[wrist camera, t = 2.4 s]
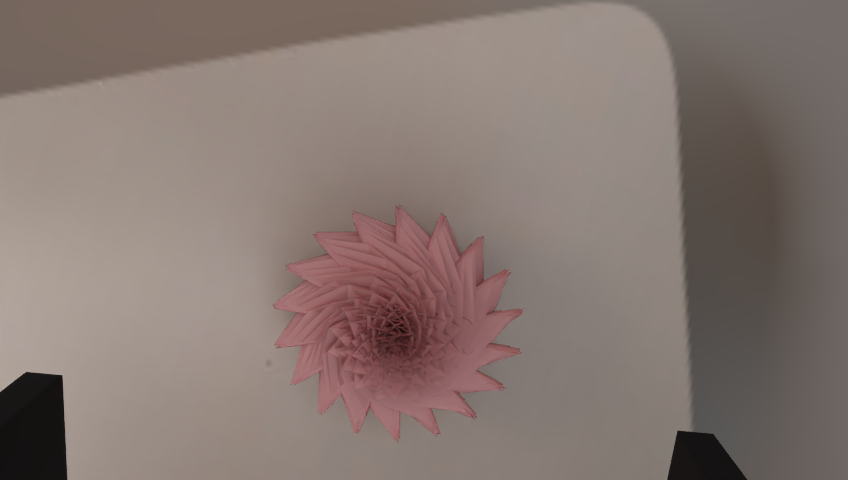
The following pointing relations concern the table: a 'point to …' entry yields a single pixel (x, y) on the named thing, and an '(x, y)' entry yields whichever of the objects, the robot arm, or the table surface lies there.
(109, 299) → the table surface
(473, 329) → the flower
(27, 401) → the robot arm
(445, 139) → the table surface
